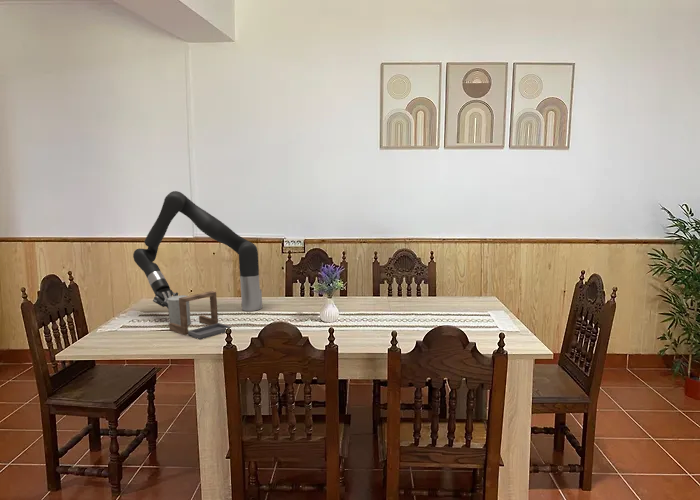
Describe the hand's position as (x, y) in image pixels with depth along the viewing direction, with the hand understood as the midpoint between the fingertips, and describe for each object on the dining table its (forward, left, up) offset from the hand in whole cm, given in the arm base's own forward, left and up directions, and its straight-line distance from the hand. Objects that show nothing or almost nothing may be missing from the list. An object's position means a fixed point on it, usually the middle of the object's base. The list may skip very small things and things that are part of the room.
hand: (173, 311), depth 292 cm
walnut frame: (0, +17, -5) cm, 18 cm away
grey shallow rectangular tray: (0, +29, -5) cm, 30 cm away
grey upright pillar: (0, +5, -5) cm, 7 cm away
